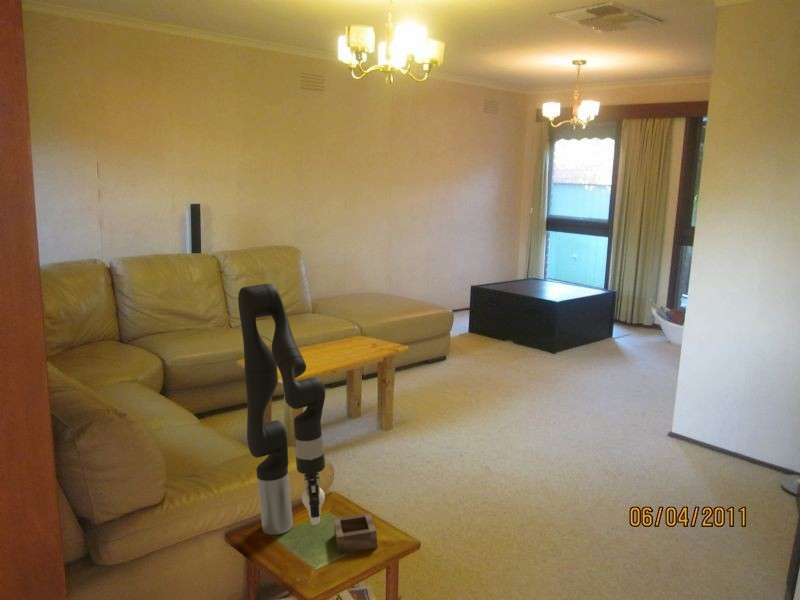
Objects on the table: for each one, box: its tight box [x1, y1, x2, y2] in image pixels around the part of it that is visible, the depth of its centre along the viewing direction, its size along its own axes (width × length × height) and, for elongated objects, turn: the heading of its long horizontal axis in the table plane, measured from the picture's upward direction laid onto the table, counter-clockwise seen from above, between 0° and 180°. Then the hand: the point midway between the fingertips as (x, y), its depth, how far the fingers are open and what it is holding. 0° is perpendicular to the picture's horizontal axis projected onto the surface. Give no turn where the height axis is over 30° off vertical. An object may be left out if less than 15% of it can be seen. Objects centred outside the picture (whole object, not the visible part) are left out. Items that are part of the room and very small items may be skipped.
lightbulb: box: [301, 486, 326, 526], centre depth 175 cm, size 6×6×11 cm
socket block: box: [333, 512, 378, 555], centre depth 187 cm, size 11×11×5 cm
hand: (314, 510), depth 175 cm, fingers closed on lightbulb, 6 cm apart
